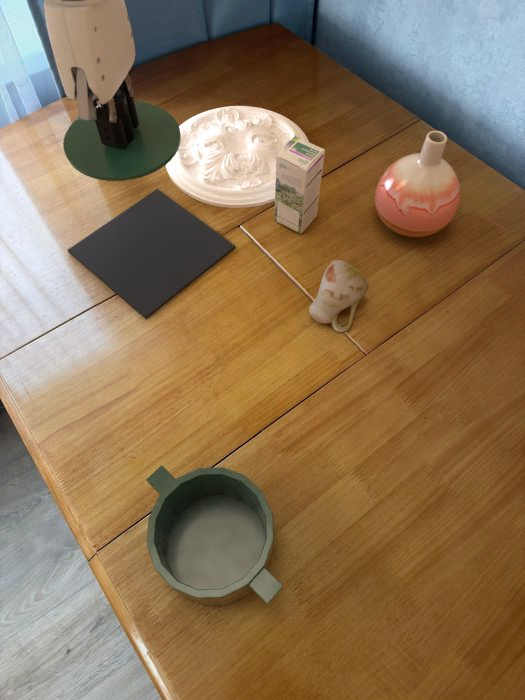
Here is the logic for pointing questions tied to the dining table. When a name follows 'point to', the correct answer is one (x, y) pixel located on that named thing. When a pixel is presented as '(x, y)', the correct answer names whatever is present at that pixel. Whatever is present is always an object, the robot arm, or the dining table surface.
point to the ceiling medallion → (231, 155)
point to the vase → (419, 191)
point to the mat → (151, 252)
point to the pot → (212, 536)
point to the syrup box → (298, 184)
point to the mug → (338, 294)
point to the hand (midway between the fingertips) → (120, 134)
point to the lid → (143, 143)
